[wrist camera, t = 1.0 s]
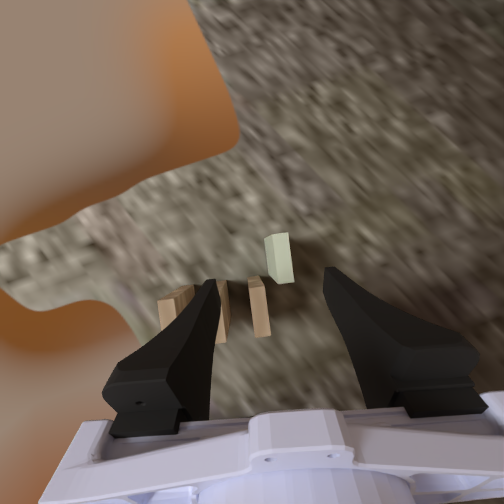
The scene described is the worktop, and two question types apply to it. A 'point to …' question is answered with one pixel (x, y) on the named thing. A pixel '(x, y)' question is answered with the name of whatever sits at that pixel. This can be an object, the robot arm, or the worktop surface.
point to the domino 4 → (279, 258)
